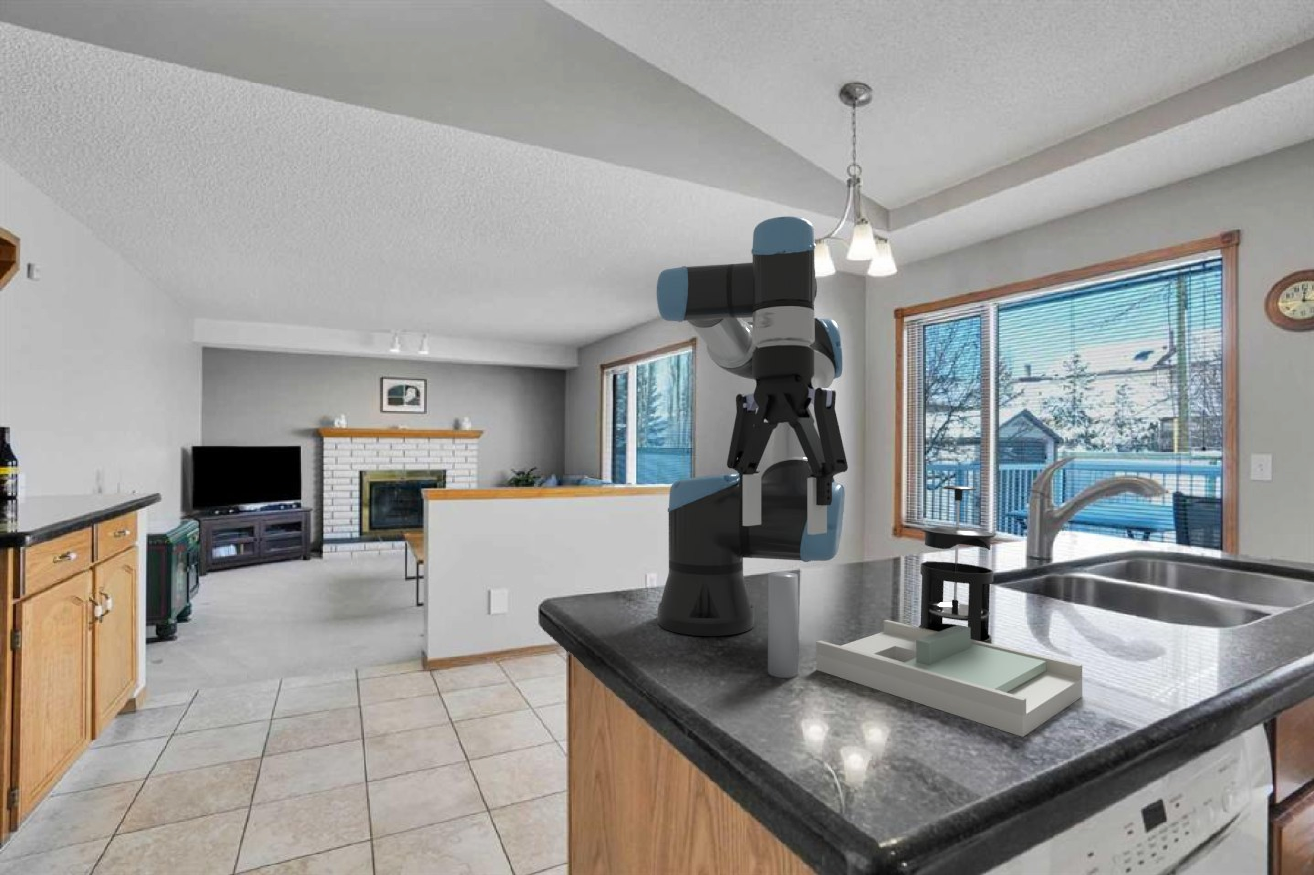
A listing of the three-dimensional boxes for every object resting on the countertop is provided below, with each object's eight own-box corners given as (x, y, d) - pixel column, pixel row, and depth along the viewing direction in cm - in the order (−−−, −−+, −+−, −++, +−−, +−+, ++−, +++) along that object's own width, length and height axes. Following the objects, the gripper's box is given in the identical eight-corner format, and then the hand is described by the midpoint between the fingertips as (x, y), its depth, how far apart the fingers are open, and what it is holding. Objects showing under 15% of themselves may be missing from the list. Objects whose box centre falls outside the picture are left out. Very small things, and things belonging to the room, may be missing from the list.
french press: (1012, 669, 83) (1017, 489, 84) (943, 670, 82) (949, 487, 82) (957, 642, 95) (962, 484, 95) (897, 642, 94) (902, 482, 94)
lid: (901, 672, 73) (901, 641, 73) (959, 648, 82) (959, 620, 82) (993, 699, 66) (993, 664, 66) (1046, 670, 74) (1046, 639, 74)
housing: (816, 669, 81) (816, 641, 81) (886, 644, 91) (886, 619, 91) (1023, 736, 62) (1022, 700, 62) (1082, 696, 73) (1082, 664, 73)
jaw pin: (761, 671, 80) (761, 574, 80) (781, 665, 82) (780, 570, 83) (784, 680, 77) (784, 578, 77) (803, 673, 80) (803, 575, 80)
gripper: (699, 354, 87) (698, 522, 86) (842, 332, 69) (842, 542, 69) (738, 358, 91) (738, 518, 91) (880, 339, 74) (881, 536, 74)
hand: (783, 528), depth 80 cm, fingers open, 9 cm apart
